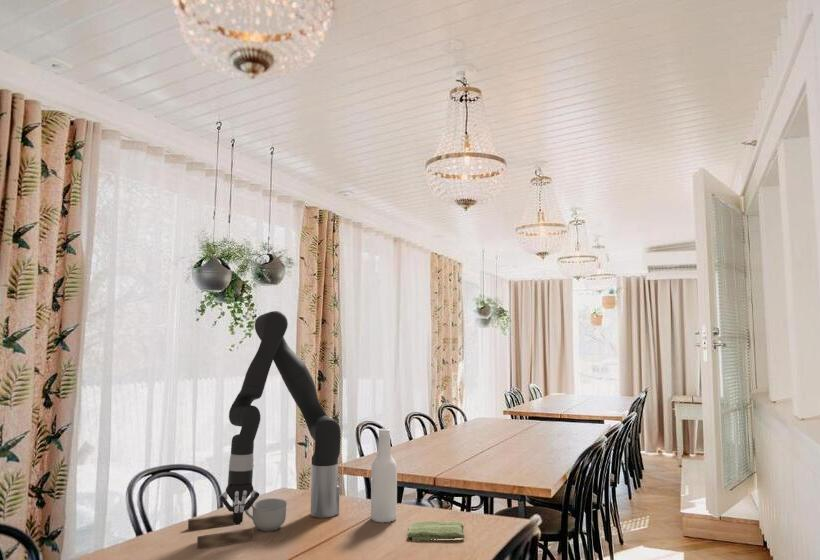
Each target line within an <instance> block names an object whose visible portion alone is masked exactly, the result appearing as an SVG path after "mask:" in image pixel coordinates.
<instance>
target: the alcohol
mask: <svg viewBox="0 0 820 560" xmlns="http://www.w3.org/2000/svg"><path fill="white" fill-rule="evenodd" d="M377 441H378V442H377V443H378V444H377V445H378V446H377V455H376V457H375V458H374V459H373V461H372V464H371V469H370V470H371V472H370V473H371V474H370V475H371V476H370V477H371V479H370V480H371V482H370V484H371V485H370V489H371V490H370V519H372V521H373V522H375V523H379V522H380V523H382V524H385V523H386V522H387V523H392V522H395V520H396V519H397V517H398V515H397V514H398V513H397V511H398V465H397V462H396V460H395V459H394V458H393V455H392V448H391V447H392V446H391V429H390V428H386V427H385V428H379V429H378V440H377ZM391 521H392V522H391ZM384 522H385V523H384ZM387 523H386V524H387Z"/></svg>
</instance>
